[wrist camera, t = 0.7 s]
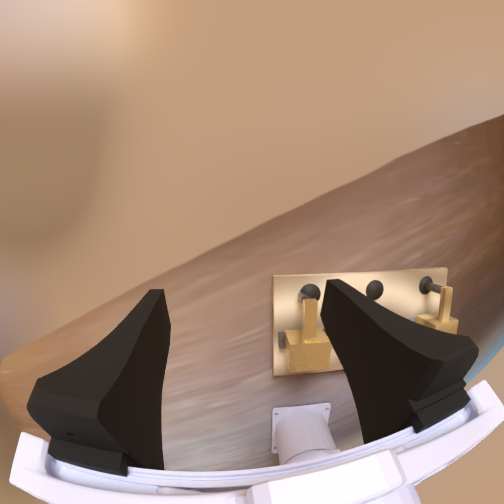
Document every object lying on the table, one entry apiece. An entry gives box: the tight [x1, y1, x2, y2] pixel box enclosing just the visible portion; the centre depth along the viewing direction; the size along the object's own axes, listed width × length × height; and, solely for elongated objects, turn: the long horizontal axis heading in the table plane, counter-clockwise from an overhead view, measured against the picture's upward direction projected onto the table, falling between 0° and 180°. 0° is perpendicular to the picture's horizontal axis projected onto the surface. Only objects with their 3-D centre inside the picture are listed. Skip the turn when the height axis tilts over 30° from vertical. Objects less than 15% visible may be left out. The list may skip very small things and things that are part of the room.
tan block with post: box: [284, 291, 331, 372], centre depth 26 cm, size 7×4×5 cm, turn 1°
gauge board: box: [273, 267, 459, 376], centre depth 28 cm, size 12×24×7 cm, turn 91°
